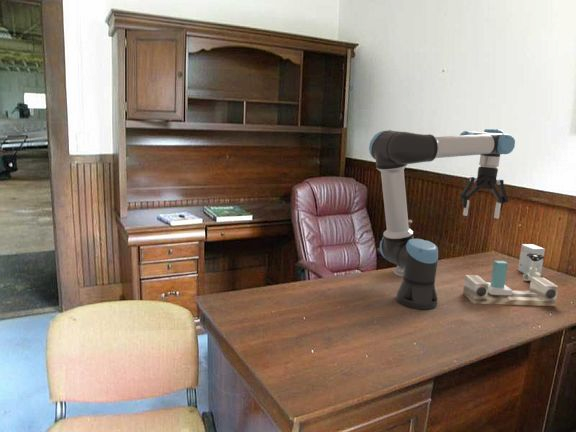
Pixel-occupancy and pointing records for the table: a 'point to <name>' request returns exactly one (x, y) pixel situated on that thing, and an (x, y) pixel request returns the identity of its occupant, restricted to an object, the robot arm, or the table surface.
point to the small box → (526, 261)
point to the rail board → (537, 295)
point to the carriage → (499, 280)
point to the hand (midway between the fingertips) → (480, 216)
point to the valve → (533, 267)
